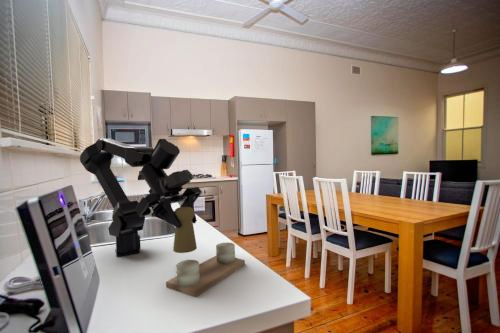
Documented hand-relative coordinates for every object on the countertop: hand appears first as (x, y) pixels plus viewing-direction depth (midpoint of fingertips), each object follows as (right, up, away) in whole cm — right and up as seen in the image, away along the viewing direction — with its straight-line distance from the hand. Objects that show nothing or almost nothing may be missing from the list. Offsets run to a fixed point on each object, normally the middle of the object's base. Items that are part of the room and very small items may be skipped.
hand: (188, 224), depth 68 cm
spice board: (+6, -12, -3) cm, 13 cm away
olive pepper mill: (-1, -7, +1) cm, 7 cm away
